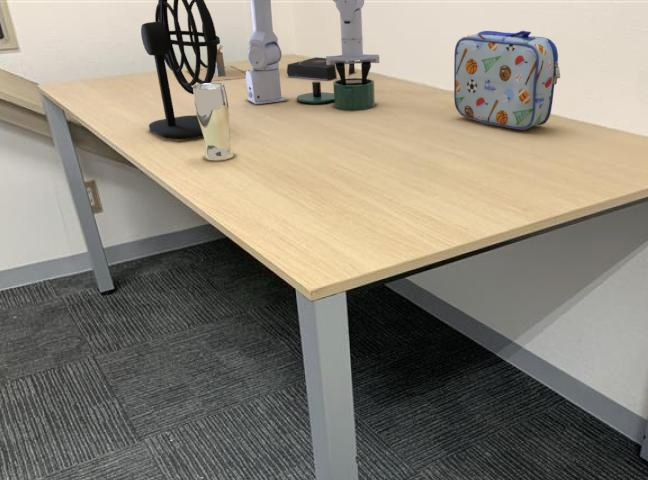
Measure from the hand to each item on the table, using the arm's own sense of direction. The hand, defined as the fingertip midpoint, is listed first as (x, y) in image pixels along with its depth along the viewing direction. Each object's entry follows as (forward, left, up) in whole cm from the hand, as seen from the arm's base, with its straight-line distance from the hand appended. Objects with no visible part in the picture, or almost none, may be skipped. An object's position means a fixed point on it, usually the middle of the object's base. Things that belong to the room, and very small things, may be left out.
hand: (354, 91), depth 187 cm
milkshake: (+7, +21, -4) cm, 22 cm away
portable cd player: (+12, +51, -4) cm, 52 cm away
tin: (0, 0, -4) cm, 4 cm away
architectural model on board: (-18, +74, -4) cm, 76 cm away
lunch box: (+22, -39, -4) cm, 45 cm away
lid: (-6, +13, -3) cm, 14 cm away
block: (0, 0, -1) cm, 1 cm away
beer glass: (-48, -29, -4) cm, 57 cm away
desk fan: (-47, -2, -4) cm, 48 cm away
